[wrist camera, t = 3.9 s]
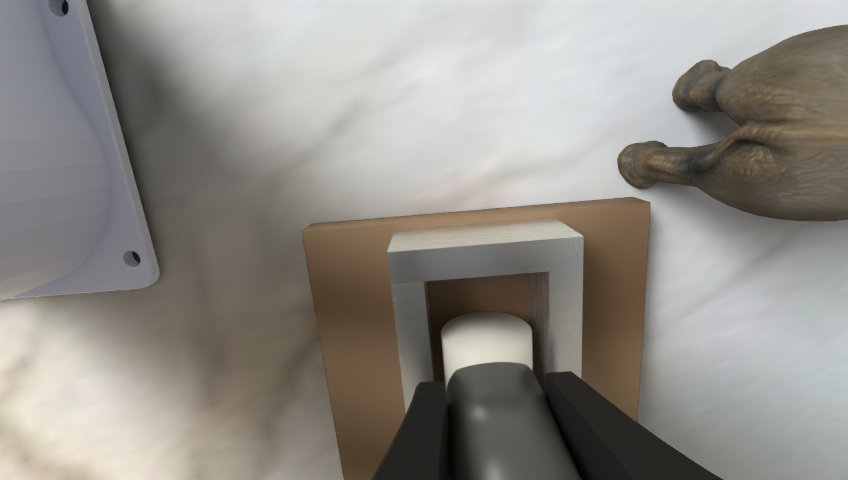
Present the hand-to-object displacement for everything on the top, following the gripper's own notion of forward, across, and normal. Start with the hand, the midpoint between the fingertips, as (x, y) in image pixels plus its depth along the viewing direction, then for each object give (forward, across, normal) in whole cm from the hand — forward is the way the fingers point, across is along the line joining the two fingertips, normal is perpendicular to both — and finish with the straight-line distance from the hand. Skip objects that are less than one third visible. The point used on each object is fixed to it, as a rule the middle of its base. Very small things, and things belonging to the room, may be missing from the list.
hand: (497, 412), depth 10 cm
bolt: (+3, 0, +3) cm, 4 cm away
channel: (+3, 0, 0) cm, 3 cm away
